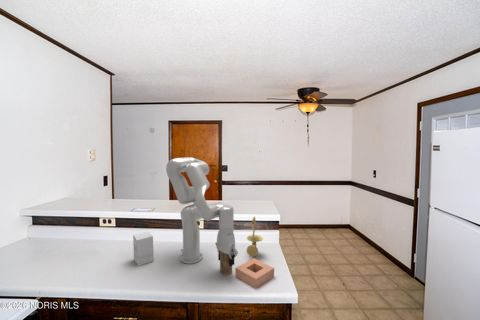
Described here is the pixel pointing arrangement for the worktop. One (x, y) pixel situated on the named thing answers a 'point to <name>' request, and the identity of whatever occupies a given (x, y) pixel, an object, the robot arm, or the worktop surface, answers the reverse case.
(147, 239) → the supplement box
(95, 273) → the worktop surface
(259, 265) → the well block
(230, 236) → the robot arm
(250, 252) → the wall sconce
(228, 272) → the walnut post
